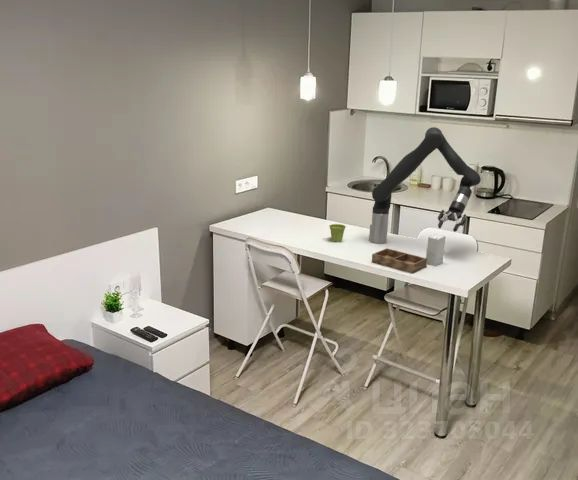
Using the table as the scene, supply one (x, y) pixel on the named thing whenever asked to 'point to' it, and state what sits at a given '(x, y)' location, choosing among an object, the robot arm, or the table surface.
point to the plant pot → (337, 232)
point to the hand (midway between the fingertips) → (446, 229)
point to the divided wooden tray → (399, 260)
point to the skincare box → (435, 249)
